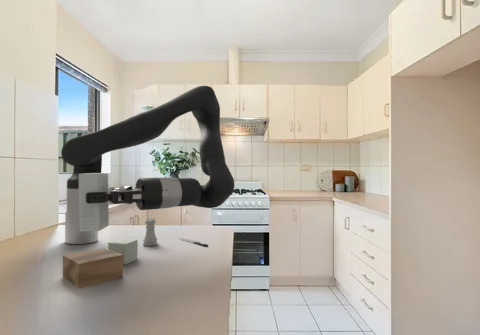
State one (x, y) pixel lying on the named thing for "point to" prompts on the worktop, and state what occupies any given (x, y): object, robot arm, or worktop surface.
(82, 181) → the skincare box
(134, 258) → the grey-green cube
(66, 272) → the walnut block
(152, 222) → the rook chess piece
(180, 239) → the chef's knife
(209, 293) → the worktop surface
